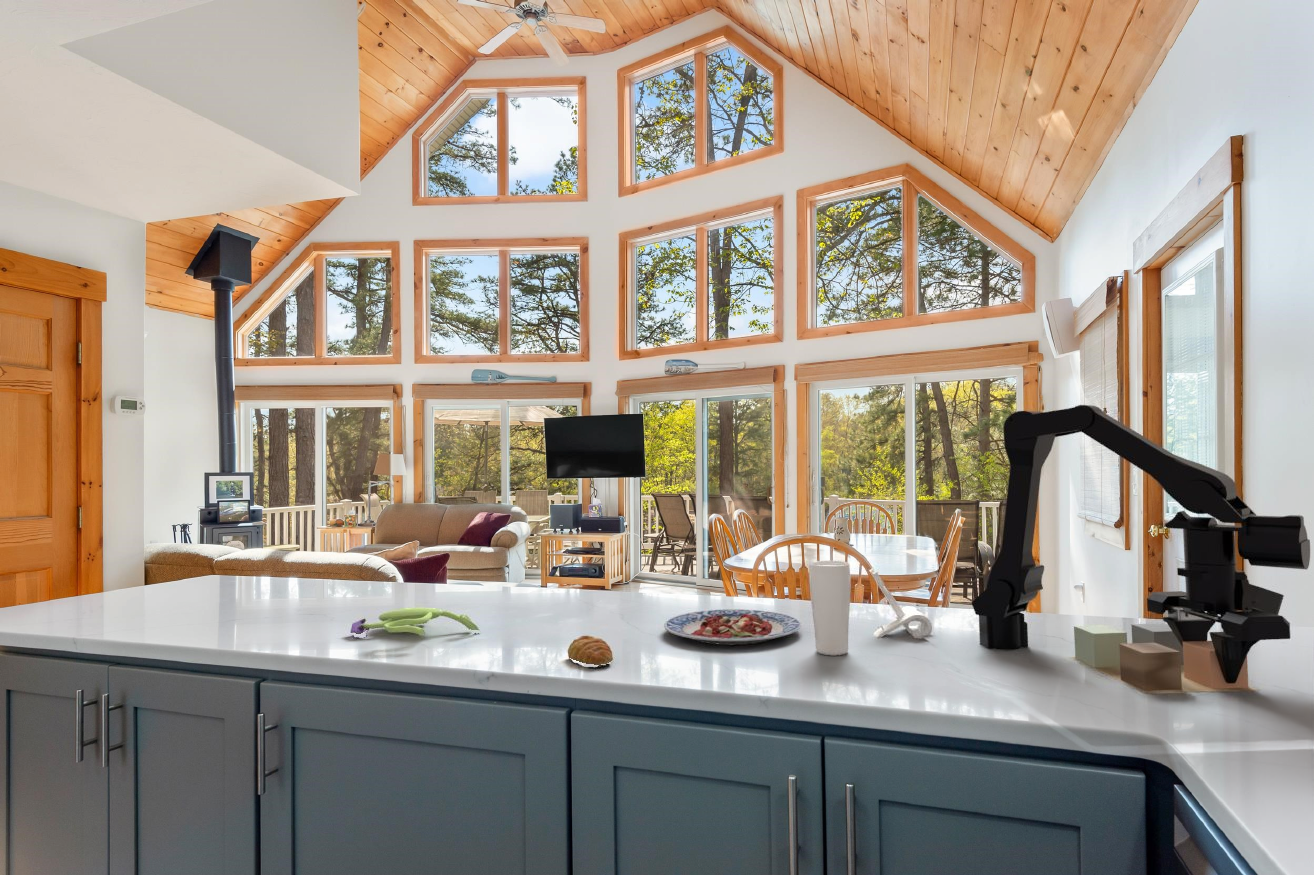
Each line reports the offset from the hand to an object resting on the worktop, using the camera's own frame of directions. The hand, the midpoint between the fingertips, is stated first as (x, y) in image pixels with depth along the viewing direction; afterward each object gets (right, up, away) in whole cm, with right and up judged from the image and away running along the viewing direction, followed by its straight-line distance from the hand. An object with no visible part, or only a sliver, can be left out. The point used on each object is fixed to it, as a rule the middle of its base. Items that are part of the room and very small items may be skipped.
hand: (1215, 677), depth 102 cm
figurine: (-124, -7, +45) cm, 132 cm away
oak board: (-5, -2, +5) cm, 7 cm away
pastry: (-87, -5, +23) cm, 90 cm away
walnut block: (-9, -1, 0) cm, 9 cm away
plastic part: (-31, -4, +36) cm, 48 cm away
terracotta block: (0, -1, 0) cm, 1 cm away
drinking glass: (-47, -4, +24) cm, 53 cm away
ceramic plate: (-62, -5, +39) cm, 74 cm away
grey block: (0, -1, +11) cm, 11 cm away
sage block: (-9, -1, +11) cm, 14 cm away
